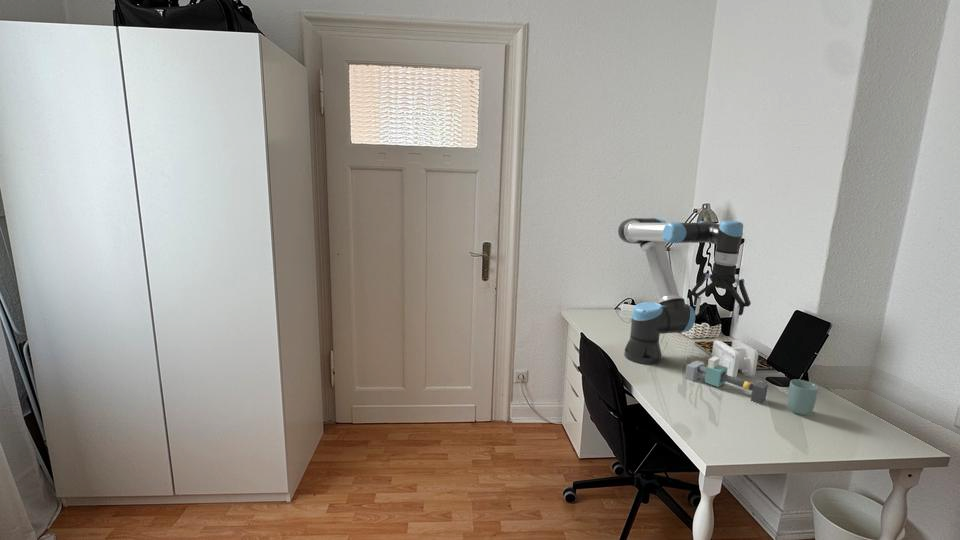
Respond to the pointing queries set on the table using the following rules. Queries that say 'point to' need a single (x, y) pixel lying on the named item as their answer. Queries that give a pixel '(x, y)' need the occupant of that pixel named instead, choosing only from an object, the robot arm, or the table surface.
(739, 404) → the table surface
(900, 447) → the table surface
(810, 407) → the cup
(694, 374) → the grey slab
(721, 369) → the sleeve
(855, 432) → the table surface
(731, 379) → the grey rod
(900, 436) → the table surface
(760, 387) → the block
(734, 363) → the cable organizer
